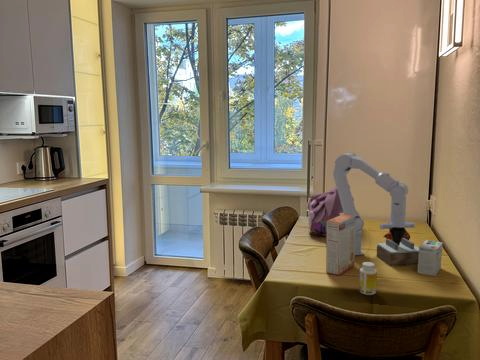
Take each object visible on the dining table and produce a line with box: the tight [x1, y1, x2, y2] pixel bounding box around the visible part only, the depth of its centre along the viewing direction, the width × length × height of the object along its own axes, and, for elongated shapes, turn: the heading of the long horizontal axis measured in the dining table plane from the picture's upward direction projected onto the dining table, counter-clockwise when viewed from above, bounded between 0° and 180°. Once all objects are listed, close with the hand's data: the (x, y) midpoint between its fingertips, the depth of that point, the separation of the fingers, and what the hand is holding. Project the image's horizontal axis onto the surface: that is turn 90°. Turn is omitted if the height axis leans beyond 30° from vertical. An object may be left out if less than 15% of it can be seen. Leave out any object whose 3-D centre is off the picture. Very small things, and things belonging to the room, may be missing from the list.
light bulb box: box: [417, 239, 444, 277], centre depth 168 cm, size 11×7×11 cm, turn 145°
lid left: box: [377, 238, 407, 253], centre depth 180 cm, size 7×12×3 cm, turn 8°
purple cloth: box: [307, 185, 355, 237], centre depth 225 cm, size 35×24×28 cm
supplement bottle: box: [359, 261, 378, 296], centre depth 148 cm, size 6×6×10 cm
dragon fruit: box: [383, 230, 411, 242], centre depth 203 cm, size 8×8×12 cm
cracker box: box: [325, 213, 356, 276], centre depth 170 cm, size 14×6×21 cm, turn 141°
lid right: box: [399, 238, 419, 253], centre depth 181 cm, size 7×12×3 cm, turn 8°
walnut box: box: [376, 244, 419, 267], centre depth 181 cm, size 14×12×5 cm
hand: (396, 245), depth 180 cm, fingers closed
